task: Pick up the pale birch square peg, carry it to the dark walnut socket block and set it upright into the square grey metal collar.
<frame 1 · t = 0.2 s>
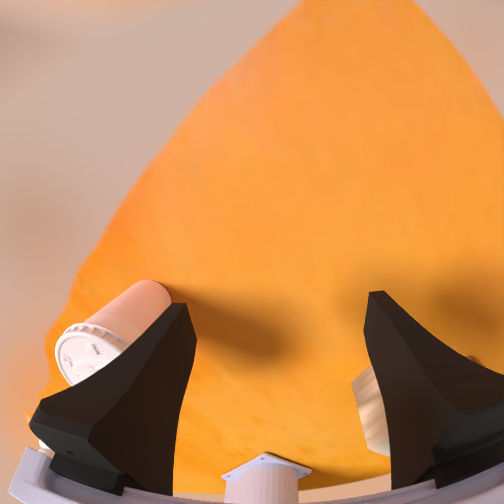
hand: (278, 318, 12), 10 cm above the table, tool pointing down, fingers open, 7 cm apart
smoothie: (151, 299, 24), on the table
square peg: (379, 377, 26), on the table
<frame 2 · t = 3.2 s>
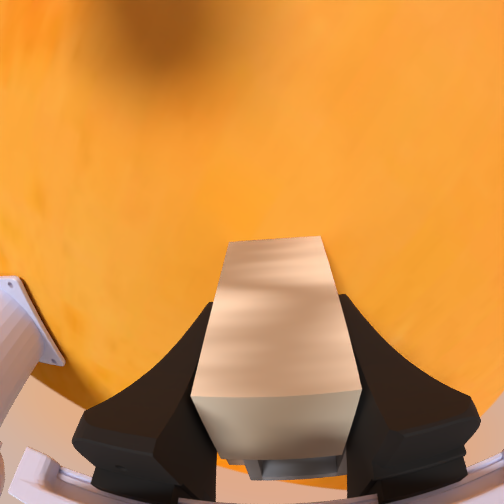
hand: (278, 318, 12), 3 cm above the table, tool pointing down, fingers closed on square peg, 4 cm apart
socket block: (299, 425, 21), on the table
square peg: (277, 277, 14), on the table, touching gripper
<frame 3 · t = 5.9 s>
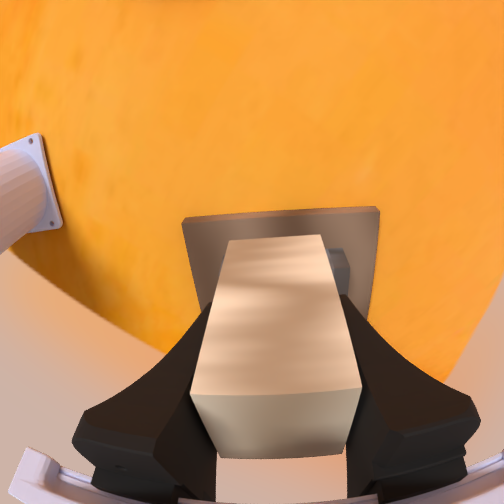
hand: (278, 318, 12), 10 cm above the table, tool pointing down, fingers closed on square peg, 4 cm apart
socket block: (285, 291, 23), on the table
square peg: (277, 276, 14), point 7 cm above the table, touching gripper
when the fingers open (5 cm above the table, at t = 8.6 s): square peg drops 1 cm, resting on socket block.
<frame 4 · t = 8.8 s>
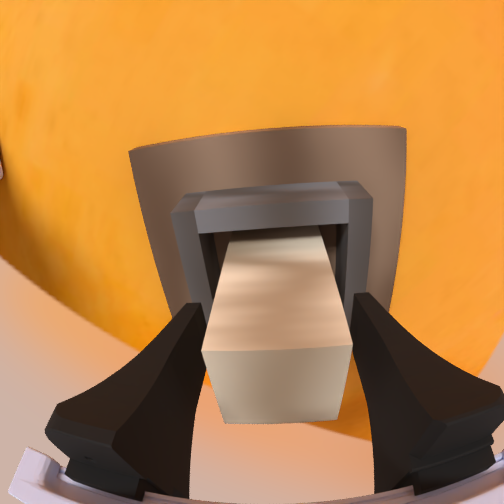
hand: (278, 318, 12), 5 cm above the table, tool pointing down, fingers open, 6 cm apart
socket block: (277, 252, 17), on the table
square peg: (277, 260, 16), point 1 cm above the table, touching socket block
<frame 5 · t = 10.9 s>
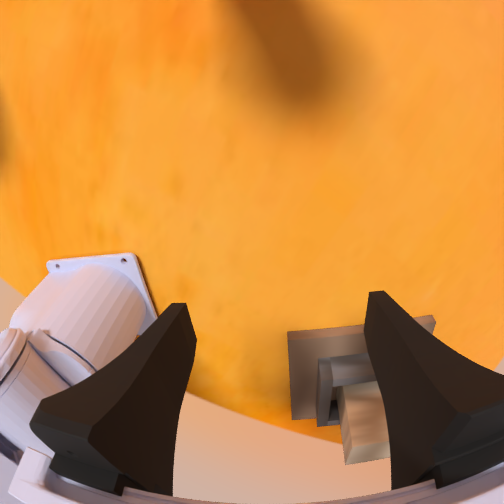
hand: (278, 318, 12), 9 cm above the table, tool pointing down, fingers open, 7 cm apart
socket block: (356, 372, 27), on the table
square peg: (358, 380, 26), point 1 cm above the table, touching socket block
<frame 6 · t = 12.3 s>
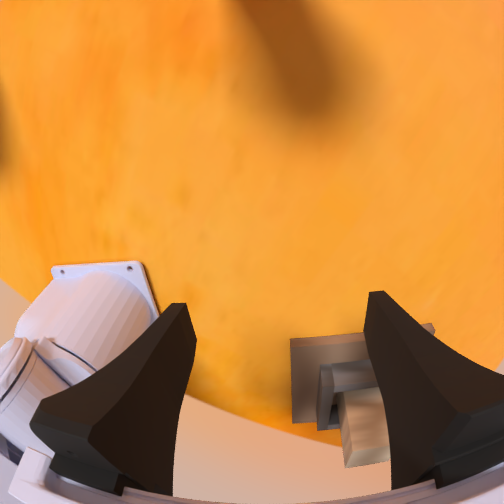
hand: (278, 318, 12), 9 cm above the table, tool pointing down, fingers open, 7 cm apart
socket block: (356, 378, 27), on the table
square peg: (358, 385, 26), point 1 cm above the table, touching socket block
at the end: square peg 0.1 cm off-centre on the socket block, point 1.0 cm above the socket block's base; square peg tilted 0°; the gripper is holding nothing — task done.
